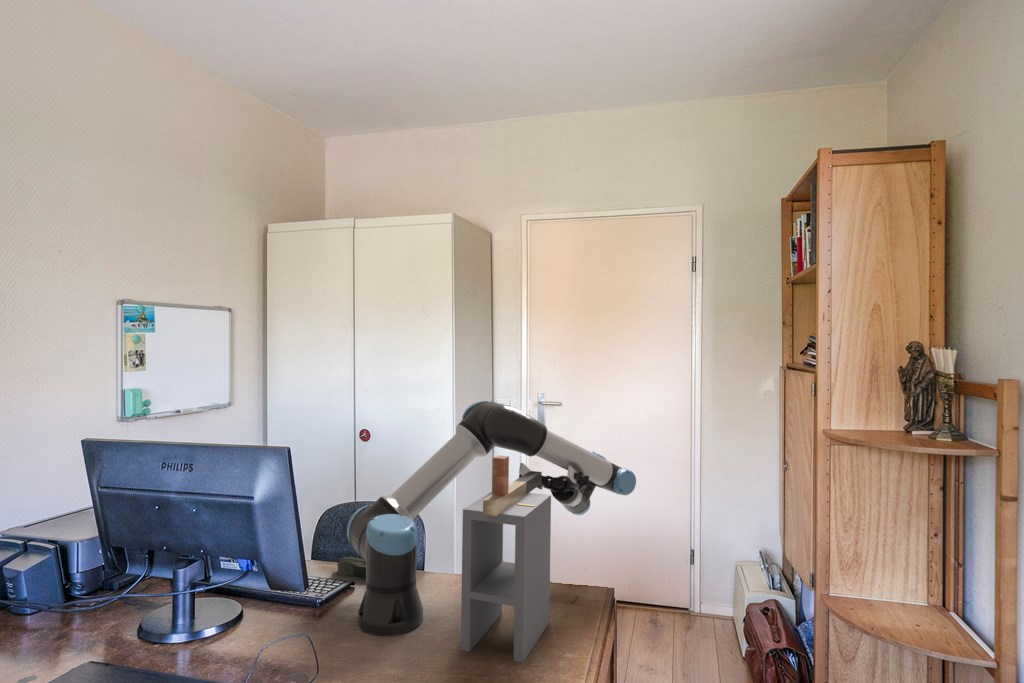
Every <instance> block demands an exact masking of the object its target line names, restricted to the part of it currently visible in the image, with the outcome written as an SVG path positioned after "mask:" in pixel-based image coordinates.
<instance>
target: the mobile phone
mask: <svg viewBox="0 0 1024 683" xmlns="http://www.w3.org/2000/svg"><path fill="white" fill-rule="evenodd" d="M331 574H332V575H335V576H336V575H337V576H344V577H349V578H355V579H358V580H363V581H366V562H365V561H364V560H363V558H356V557H353V556H348V557H341V558H340V559H339V560H338V561H337V571H332V573H331Z"/></svg>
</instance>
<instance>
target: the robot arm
mask: <svg viewBox="0 0 1024 683" xmlns="http://www.w3.org/2000/svg"><path fill="white" fill-rule="evenodd" d="M461 417H462V418H461V421H460V422H459V423H457V425H456V426H455V434H454V435H453V436H452V437H451V438H449V440H448V441H447V442H446V443H445V444H444V445H443V446H441V448H439V450H437V451H436V452H435V453H434V454H433V455H432V456H431V457H429V459H428V460H426V461H425V462H424V463H423V464H422V465H421V466H420V468H418V469H417V470H416V471H415V472H414V473H412V475H411V476H410V477H408V478H407V479H406V480H405V481H404V483H402V484H401V485H400V486H399V487H398V488H397V489H396V490H395V491H394V492H392V494H391V495H381V496H380V497H379V498H378V499H377V500H375V502H373V503H372V504H369V505H365V506H362V507H360V508H359V509H357V510H356V511H355V512H354V513H353V514H352V515H351V517H350V518H349V521H348V524H347V527H346V528H347V529H346V535H347V539H348V542H349V544H350V546H351V548H352V549H353V550H354V552H355V553H356V554H358V556H360V557H361V559H362V560H364V561H365V562H366V580H365V590H364V594H363V597H362V600H361V602H360V605H359V609H358V612H357V627H358V628H359V629H360V630H361V631H362V632H364V633H366V634H370V635H374V636H381V637H382V636H383V637H384V636H385V637H386V636H387V637H388V636H396V635H401V634H404V633H405V634H406V633H407V632H411V631H413V630H415V629H416V628H418V627H419V626H420V625H421V624H422V622H424V606H423V604H422V601H421V598H420V594H419V591H418V587H417V568H418V567H417V565H418V564H417V561H418V560H417V559H418V558H417V556H418V539H419V537H418V532H417V530H418V529H417V524H416V523H415V521H414V519H415V518H416V517H417V516H418V515H419V514H420V513H421V512H422V511H423V510H424V509H425V508H426V507H427V506H428V505H429V504H430V503H431V502H433V501H434V499H436V497H437V496H439V494H440V493H442V492H443V490H445V488H447V487H448V486H449V485H450V483H451V482H452V481H454V480H455V479H456V478H457V477H458V476H459V475H460V474H461V473H462V472H463V471H464V470H465V469H466V468H467V467H468V466H469V465H470V464H471V463H472V462H474V460H475V459H476V458H478V457H485V456H487V455H488V454H489V453H490V452H491V451H492V450H494V448H495V447H497V448H501V449H506V450H510V451H514V452H518V453H520V454H523V455H526V456H528V457H535V456H536V457H538V458H541V459H543V460H545V461H547V462H549V463H551V464H553V465H555V466H558V467H559V468H562V469H564V470H565V471H567V475H560V476H556V477H554V476H551V475H542V482H541V484H540V485H539V486H538V487H536V488H537V489H538V490H543V488H544V489H547V490H549V491H550V493H551V496H552V497H553V498H554V499H555V500H556V501H558V502H559V503H560V504H561V505H562V506H563V507H564V508H565V509H566V510H567V511H568V512H569V513H571V514H572V515H576V516H582V515H585V514H586V513H587V512H588V511H589V510H590V507H591V497H592V495H593V493H594V491H595V489H596V488H601V489H604V490H606V491H609V492H612V493H615V494H616V495H620V496H629V495H631V494H632V493H633V492H634V490H635V489H636V486H637V476H636V475H635V473H634V471H632V470H630V469H627V468H626V467H621V466H618V465H617V464H615V463H612V462H610V461H609V460H608V459H607V458H606V457H605V456H603V455H601V454H600V453H597V452H596V451H593V450H587V449H585V448H583V447H582V446H579V445H578V444H575V443H574V442H572V441H570V440H569V439H566V438H564V437H562V436H559V435H558V434H556V433H554V432H552V431H550V430H548V427H547V425H546V424H545V423H543V422H541V421H539V420H537V419H536V418H534V417H532V416H530V415H529V414H528V413H525V412H524V411H523V410H521V409H519V408H517V407H515V406H512V405H509V404H503V403H497V402H496V401H495V402H494V401H491V400H482V401H476V402H474V403H472V404H470V405H469V406H468V407H467V408H466V409H465V411H464V412H463V414H462V416H461ZM519 463H520V465H519V469H518V473H519V474H518V478H520V477H521V476H523V475H525V474H526V473H528V472H530V471H532V470H531V469H530V468H529V467H528V466H527V465H525V463H523V462H519Z"/></svg>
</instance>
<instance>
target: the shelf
mask: <svg viewBox="0 0 1024 683" xmlns="http://www.w3.org/2000/svg"><path fill="white" fill-rule="evenodd" d="M491 495H492V491H491V492H489V493H487V494H486V495H484V496H482V497H481V498H479V499H477V500H475V501H474V502H472V503H471V504H469V505H468V506H465V507H464V508H462V534H461V535H462V536H461V537H462V541H461V542H462V545H461V546H462V547H461V610H460V612H461V615H460V619H461V620H460V623H461V624H460V651H464V652H468V651H469V652H471V651H472V649H473V648H474V647H475V646H476V645H477V643H479V641H481V639H482V638H483V637H482V636H484V635H485V634H486V633H487V632H488V631H489V630H490V628H491V627H492V626H494V624H495V623H494V622H496V621H497V620H498V619H499V618H500V617H501V616H502V614H503V605H504V606H510V607H513V608H514V609H513V612H514V613H513V616H514V617H513V619H514V620H513V662H516V663H522V664H524V662H525V660H526V659H527V657H528V656H529V654H530V653H531V652H532V649H533V648H534V647H535V645H536V644H537V642H538V640H539V639H540V638H541V636H542V635H543V633H544V631H545V630H547V627H548V625H549V624H550V610H551V608H550V607H551V606H550V604H551V603H550V598H551V597H550V596H551V595H550V594H551V536H552V535H551V534H552V532H551V528H552V527H551V524H552V523H551V522H552V520H551V519H552V494H545V493H544V494H543V493H536V492H535V493H534V492H529V493H528V494H526V495H525V496H524V497H522V498H521V499H520V500H518V501H517V502H515V503H514V504H513V505H511V506H510V507H508V508H507V509H506V510H504V511H503V512H501V513H500V514H499V515H497V516H490V515H483V500H484V499H486V498H487V497H489V496H491ZM504 525H510V526H515V528H514V529H515V532H514V533H515V535H514V536H515V537H514V540H515V541H514V542H515V543H514V547H515V548H514V562H512V561H510V562H509V561H504V560H503V555H504V554H503V551H504ZM500 615H501V616H500ZM499 616H500V617H499Z"/></svg>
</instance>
